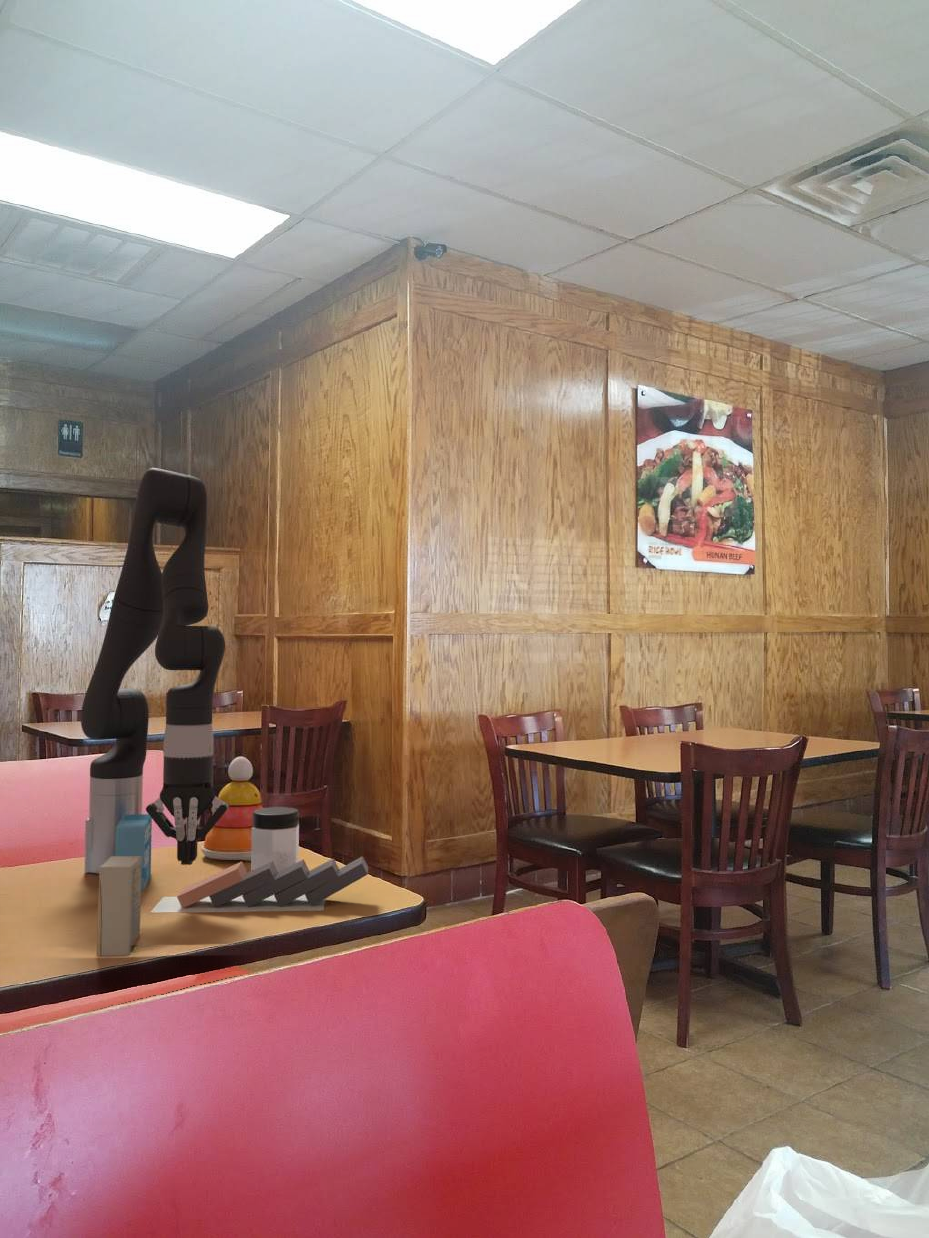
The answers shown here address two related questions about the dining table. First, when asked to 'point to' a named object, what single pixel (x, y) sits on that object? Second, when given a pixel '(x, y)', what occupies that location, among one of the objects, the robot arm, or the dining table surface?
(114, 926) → the skincare box
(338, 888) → the tile
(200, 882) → the brick tile
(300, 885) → the tile
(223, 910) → the white flat strip
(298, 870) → the tile
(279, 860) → the jar
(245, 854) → the stacking toy
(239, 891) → the tile
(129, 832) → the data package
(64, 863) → the dining table surface
